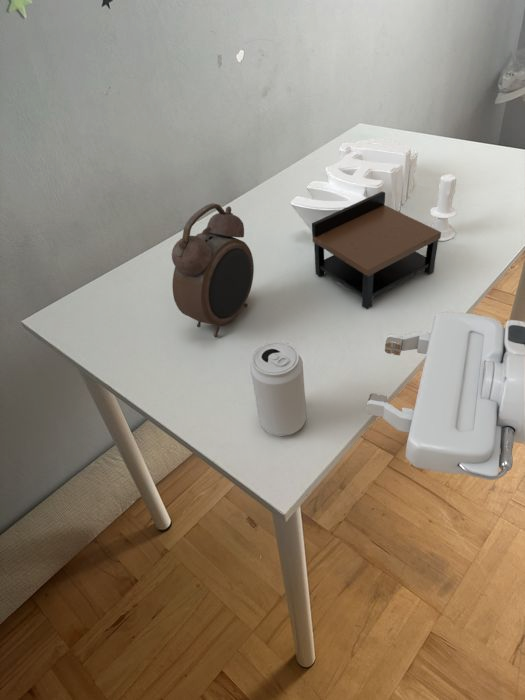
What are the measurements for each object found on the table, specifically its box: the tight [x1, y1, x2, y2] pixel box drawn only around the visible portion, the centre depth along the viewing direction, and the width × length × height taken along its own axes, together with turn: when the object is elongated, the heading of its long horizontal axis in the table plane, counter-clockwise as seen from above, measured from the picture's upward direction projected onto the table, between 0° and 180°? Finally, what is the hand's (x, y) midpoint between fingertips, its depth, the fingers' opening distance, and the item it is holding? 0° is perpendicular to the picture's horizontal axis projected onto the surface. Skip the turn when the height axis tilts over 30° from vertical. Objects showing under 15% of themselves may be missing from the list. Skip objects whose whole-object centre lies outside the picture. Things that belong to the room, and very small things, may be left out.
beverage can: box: [249, 341, 307, 437], centre depth 64 cm, size 6×6×12 cm
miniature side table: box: [311, 191, 441, 310], centre depth 87 cm, size 14×16×10 cm
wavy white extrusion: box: [289, 138, 419, 232], centre depth 104 cm, size 35×16×10 cm, turn 146°
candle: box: [429, 173, 458, 242], centre depth 93 cm, size 5×5×12 cm
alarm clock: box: [171, 202, 255, 338], centre depth 79 cm, size 15×7×20 cm, turn 147°
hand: (377, 371), depth 55 cm, fingers open, 8 cm apart
